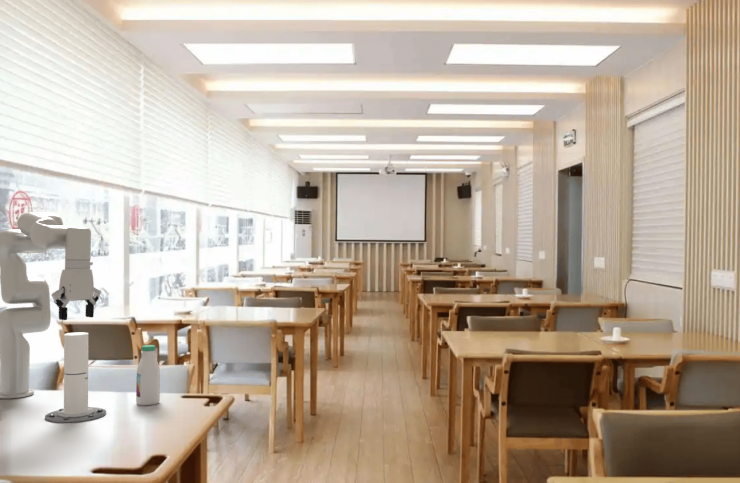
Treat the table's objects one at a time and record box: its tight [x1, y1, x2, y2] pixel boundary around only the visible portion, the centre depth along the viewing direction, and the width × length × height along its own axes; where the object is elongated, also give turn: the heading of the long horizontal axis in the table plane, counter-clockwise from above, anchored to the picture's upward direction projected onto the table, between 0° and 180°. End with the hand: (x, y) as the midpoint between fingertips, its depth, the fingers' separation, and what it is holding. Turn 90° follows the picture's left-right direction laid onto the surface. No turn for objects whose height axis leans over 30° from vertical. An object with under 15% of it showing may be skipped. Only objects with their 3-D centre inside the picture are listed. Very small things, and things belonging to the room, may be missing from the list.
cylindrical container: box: [63, 331, 89, 414], centre depth 217 cm, size 7×7×25 cm
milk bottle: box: [135, 344, 161, 406], centre depth 235 cm, size 8×8×20 cm
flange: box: [44, 406, 107, 424], centre depth 217 cm, size 18×18×1 cm
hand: (76, 318), depth 218 cm, fingers open, 9 cm apart
